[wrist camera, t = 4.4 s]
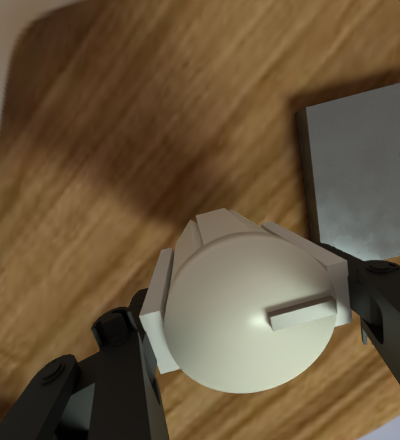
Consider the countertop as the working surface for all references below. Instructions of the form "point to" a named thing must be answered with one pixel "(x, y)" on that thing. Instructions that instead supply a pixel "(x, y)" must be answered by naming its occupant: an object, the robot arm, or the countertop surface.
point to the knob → (245, 305)
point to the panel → (353, 172)
